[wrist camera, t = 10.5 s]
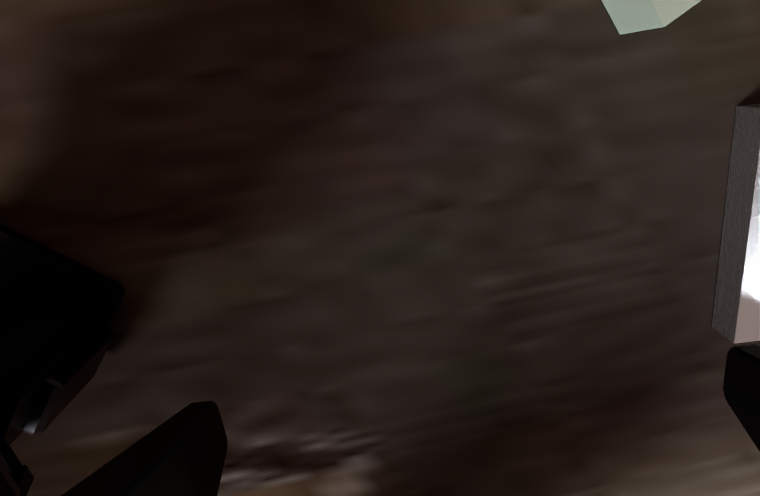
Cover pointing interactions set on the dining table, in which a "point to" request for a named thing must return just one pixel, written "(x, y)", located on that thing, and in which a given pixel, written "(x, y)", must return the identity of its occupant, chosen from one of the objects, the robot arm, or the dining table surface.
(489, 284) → the dining table surface
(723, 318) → the bracket
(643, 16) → the tray
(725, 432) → the dining table surface
